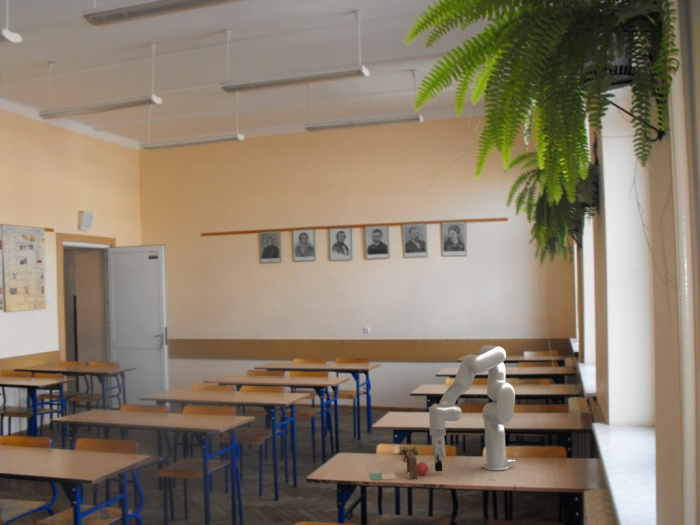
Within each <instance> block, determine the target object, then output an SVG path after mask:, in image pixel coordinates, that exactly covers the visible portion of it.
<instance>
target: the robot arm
mask: <svg viewBox="0 0 700 525" xmlns="http://www.w3.org/2000/svg"><path fill="white" fill-rule="evenodd" d="M506 357H507V353H506V350H505V349H504V348H503V347H501V346H499V345H498V346H497V345H487V344H486V345H482V346H481V347H480V348H479V351H478V354H476V355H475V354H467V355H465V356H464V357H463V358H462V360H461V363H460V365H459V367H458V371H457V373H456V375H455V378H454V380H453V382H452V383H451V384H450V385H449V387H448V388H447V389H446V390H445V392H444V394H443V395H442V397H441V400H440V402H439V405H431V406H430V407H429V409H428V414H429V418H428V420H429V436H430V437H431V441H432V442H431V446H432V448H431V449H432V454H433V456H434V470H435V472H443V458H446V456H447V455H446V443H445V436H446V422H457V421H459V420H461V418H462V416H463V411H462V409H461V408H460V407H459V406H458V405H456V404H455V403H456V401H457V400H458V398H459V397H461V395H463V394H464V393H467V392H468V391H469V390H470V389H471V387H472V385H473V382H474V379H475V377H476V374H481V373H485V372H487V375H488V376H487V383H486V384H487V386H486V395H487V397H489V399H491V400H493V401H496V402H488V403H486V404H485V405H484V406H483V408H482V419H483V423H484V425H483V426H484V434H485V435H484V438H485V439H484V442H485V443H484V444H485V462H486V463H484V464H483V465H482V467H483V468H484V470H489V471H506V470H509V469H510V464H511V465H513V464H514V465H515V464H517V462H516V459H511V458H510V459H508V458H507V455H506V454H507V452H506V432H505V426H507V425H509V424H510V423H512V421H513V418H514V413H515V401H516V393H515V389H514V386H512V385H511V383H509V382H506V377H507V376H506V375H507V374H506V372H507V371H506V366H505V363H504V362H505V361H506Z"/></svg>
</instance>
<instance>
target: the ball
mask: <svg viewBox="0 0 700 525" xmlns="http://www.w3.org/2000/svg"><path fill="white" fill-rule="evenodd" d="M428 472H429V466H428V465H427V463H425V462H421V461H420V462H418V463H417V475H419V476H426V474H427V473H428Z"/></svg>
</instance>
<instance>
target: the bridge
mask: <svg viewBox="0 0 700 525" xmlns="http://www.w3.org/2000/svg"><path fill="white" fill-rule="evenodd" d="M405 455H406V456H407V462H406V473H408V472H409V473H408V474H409V476H410V477H409V478H410V480H411V481H413V480H414V481H415V479H416V480H418V474H417V464H418V463H417V461H418V460H417V456H416V455H415V454H414V453H413V452H412V451H411V452H406V454H405Z"/></svg>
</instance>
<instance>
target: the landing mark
mask: <svg viewBox="0 0 700 525" xmlns="http://www.w3.org/2000/svg"><path fill="white" fill-rule="evenodd" d="M382 473H383V472H379V473H378V472H377V473H369V477H370V481H383V480H382V479H383V478H382Z"/></svg>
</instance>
